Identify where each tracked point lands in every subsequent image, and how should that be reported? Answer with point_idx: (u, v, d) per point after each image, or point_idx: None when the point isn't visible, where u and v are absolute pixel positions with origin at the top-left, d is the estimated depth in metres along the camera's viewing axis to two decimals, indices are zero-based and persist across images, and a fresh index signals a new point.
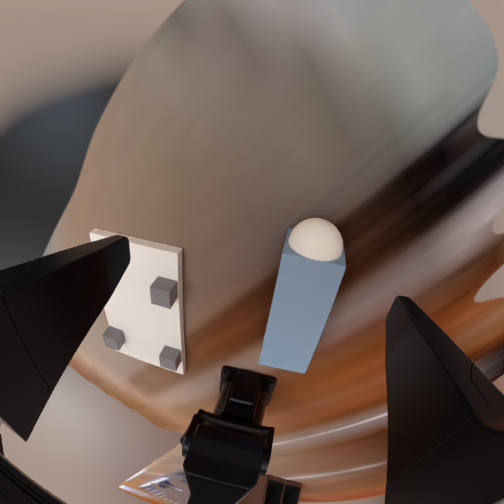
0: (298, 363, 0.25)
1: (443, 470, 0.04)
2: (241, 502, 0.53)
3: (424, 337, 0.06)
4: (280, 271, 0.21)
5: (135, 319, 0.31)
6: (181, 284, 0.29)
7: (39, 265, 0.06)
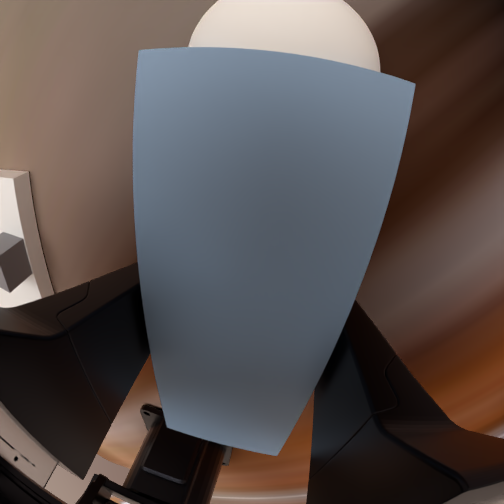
0: (259, 440, 0.09)
1: (345, 473, 0.04)
2: None
3: None
4: (138, 130, 0.05)
5: None
6: (41, 249, 0.12)
7: (101, 288, 0.06)
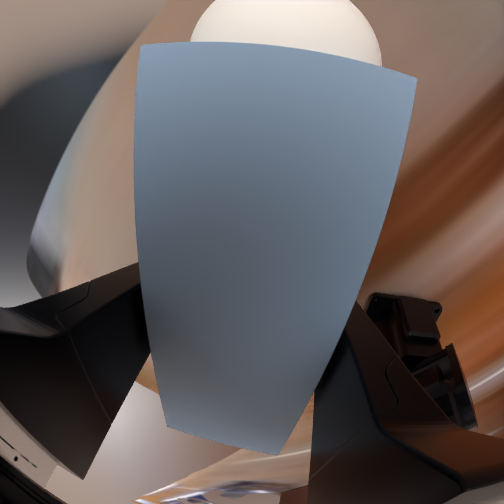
0: (260, 439, 0.09)
1: (345, 473, 0.04)
2: None
3: None
4: (140, 125, 0.05)
5: None
6: None
7: (101, 288, 0.06)
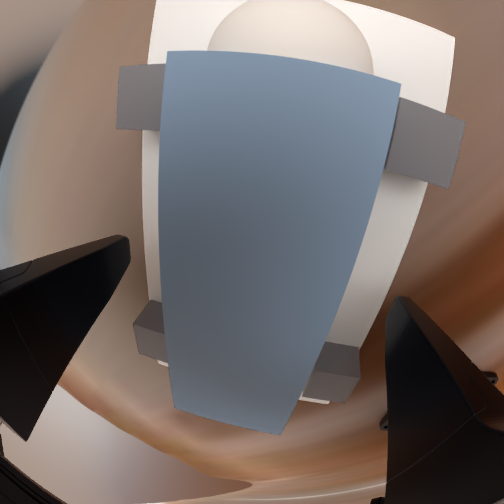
0: (263, 418, 0.10)
1: (443, 470, 0.04)
2: None
3: (424, 337, 0.06)
4: (165, 120, 0.05)
5: None
6: None
7: (39, 265, 0.06)
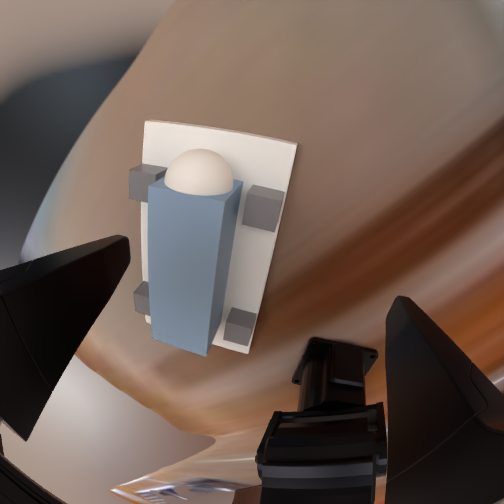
0: (195, 342, 0.20)
1: (443, 470, 0.04)
2: None
3: (424, 337, 0.06)
4: (149, 210, 0.16)
5: None
6: (283, 203, 0.20)
7: (39, 265, 0.06)
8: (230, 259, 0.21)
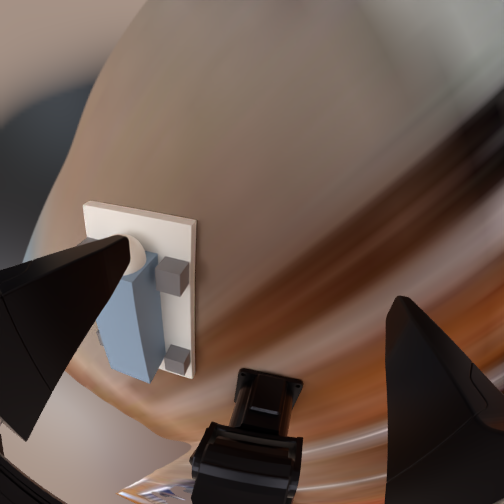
0: (140, 373, 0.24)
1: (443, 470, 0.04)
2: None
3: (424, 337, 0.06)
4: None
5: None
6: (194, 267, 0.23)
7: (39, 265, 0.06)
8: None
